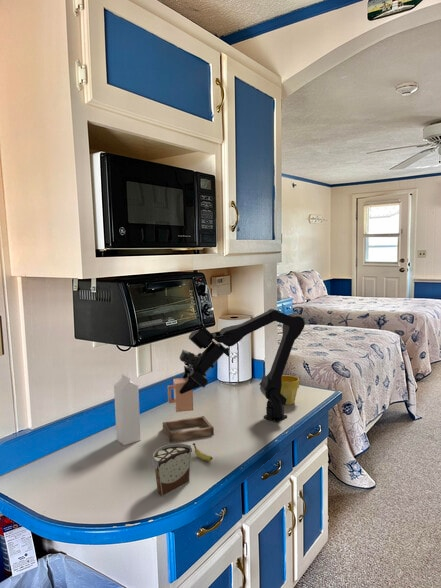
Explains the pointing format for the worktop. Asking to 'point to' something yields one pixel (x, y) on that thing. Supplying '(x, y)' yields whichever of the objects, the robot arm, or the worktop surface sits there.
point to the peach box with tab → (180, 396)
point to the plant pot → (289, 388)
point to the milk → (127, 411)
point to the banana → (202, 454)
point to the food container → (171, 467)
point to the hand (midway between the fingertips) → (179, 390)
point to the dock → (190, 433)
